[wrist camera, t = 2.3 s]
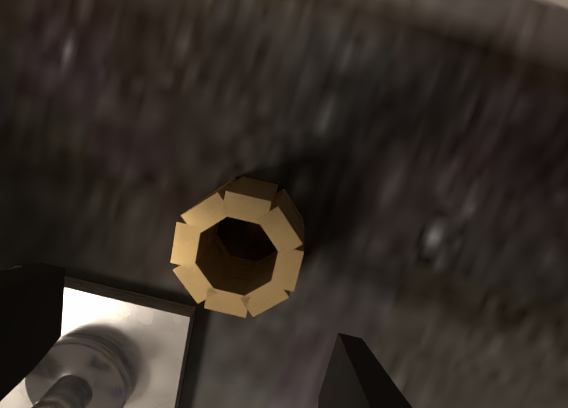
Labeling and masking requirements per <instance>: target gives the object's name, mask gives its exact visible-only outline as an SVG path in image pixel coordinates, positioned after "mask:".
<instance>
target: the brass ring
mask: <svg viewBox="0 0 568 408" xmlns="http://www.w3.org/2000/svg"><path fill="white" fill-rule="evenodd" d="M277 189H278V184H274V183H270V182H265V181H261V180H257V179H253V178H248V177H244V176H242V177H241V178H240V179H239V180H237V178H236V177H235V178H234V179H232V180H231V181H229V182H228V183H226V184H224V185H223V186H221V187H220V188H218V189H217V190H215V191H213V192H212V193H210V194H209V195H207V196H206V197H204V198H203V199H202V200H200V201H199V202H198V203H196V204H195V205H194V206H193V207H191V208H190V209H189V210H187V211H186V212H185V213H183V214H182V215H181V216H182V218H181V219H180V220H178V221H177V223H176V230H175V236H174V243H173V250H172V256H171V263H174V264H177V265H176V267H175V268H174V269H173V271H174V273H175V274H176V275H177V277H178V278H179V279H180V281H181V282H182V283H183V285H184V286H185V287H186V289H187V290H188V291H189V293H190V294H191V295H192V297H193V298H194V300H195V301H196V302H197V304H198V303H200V302H202V301H203V300H205V299H206V301H205V306H204V308H206V309H210V310H215V311H219V312H223V313H227V314H232V315H236V316H240V317H244V318H246V315H247V311H248V310H249V312H250V313H251V315H252V316H253V317H254V316H256V315H258V314H259V313H261V312H263V311H265V310H267V309H269V308H271V307H272V306H274V305H276V304H278V303H280V302H282V301H284V300H285V299H287V298H289V294H290V291H293V292H294V289H295V285H296V281H297V277H298V273H299V270H300V266H301V262H302V258H303V254H304V229H305V225H303V220H304V219H303V217H302V216H301V214H300V213H299V211H298V209H297V208H296V206H295V205H294V203H293V202H292V200H291V198H290V197H289V195H288V194H287V192H286V191H285V189H282V190H281V191H279V192H277ZM226 217H231V218H235V219H240V220H244V221H248V222H252V223H257V224H260V225H261V226H262V228H263V229H264V231H265V232H266V234H267V235H268V237H269V238H270V240H271V241H272V243H273V244H274V246H275V247H276V249H277V250H276V251H274V252H272V253H271V254H269V255H267V256H265V257H264V258H262V259H260V260H258V261H257V262H256V261H252V260H248V259H244V258H239V257H235V256H231V254H230V253H229V251H228V250H227V248H226V247H225V246H224V244H223V243H222V241H221V240H220V238H219V237H218V236H217V232H218V227H219V221H221V220H222V219H224V218H226Z"/></svg>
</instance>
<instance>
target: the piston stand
mask: <svg viewBox="0 0 568 408" xmlns="http://www.w3.org/2000/svg"><path fill="white" fill-rule="evenodd" d="M18 267H22V266H21V265H15V266H13V267H11V268H9V269H13V268H18ZM7 270H8V269H7ZM195 311H196V307H194V306H190V305H186V304H182V303H178V302H173V301H169V300H165V299H161V298H156V297H152V296H148V295H144V294H140V293H135V292H131V291H127V290H123V289H118V288H114V287H110V286H106V285H102V284H97V283H93V282H89V281H85V280H80V279H76V278H72V277H68V276H65V283H64V299H63V315H62V331H61V337H60V338H59V339H58V341H57V342H56V343H55V344H54V346H53V347H52V348H51V349H50V350H49V352H48V353H47V354H46V355H45V357H44V358H43V359H42V360H41V361H40V362H39V363H38V365H37V366H36V367H35V368H34V369H33V370H32V371H31V373H29V374H28V375H27V376H26V377H25V378H24V379H23V380H22V381H21V382H20V383H19V384H18V385H17V386H16V387H15V388H14V389H13V390H12V391H11V392H10V393H9V394H8V395H7V396H6V397H5V398H3V399H2V400H1V401H0V408H178V407H179V401H180V395H181V390H182V384H183V379H184V373H185V367H186V362H187V356H188V350H189V345H190V339H191V333H192V328H193V322H194V317H195Z"/></svg>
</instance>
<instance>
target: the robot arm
mask: <svg viewBox="0 0 568 408" xmlns="http://www.w3.org/2000/svg"><path fill="white" fill-rule="evenodd" d="M64 283H65V268H61V267H57V266H52V265H48V264H44V263H40V264H34V265H28V266H22V267H18V268H13V269H8V270H4V271H0V401H1V400H2V399H3V398H5V397H6V396H7V395H8V394H9V393H10V392H11V391H12V390H13V389H14V388H15V387H16V386H17V385H18V384H19V383H20V382H21V381H22V380H23V379H24V378H25V377H26V376H27V375H28V374H29V373H31V371H32V370H33V369H34V368H35V367H36V366H37V365H38V363H39V362H40V361H41V360H42V359H43V358H44V357H45V355H46V354H47V353H48V352H49V350H50V349H51V348H52V347H53V346H54V344H55V343H56V342H57V341H58V339H59V338H60V337H61V331H62V315H63V299H64ZM318 408H412V407H411V405H410V404H409V403H408V401H407V400H406V399H405V397H404V396H403V395H402V393H401V392H400V391H399V389H398V388H397V387H396V385H395V384H394V383H393V381H392V380H391V378H390V377H389V376H388V374H387V373H386V371H385V370H384V369H383V367H382V366H381V364H380V363H379V362H378V360H377V359H376V357H375V356H374V355H373V353H372V352H371V350H370V349H369V348H368V346H367V345H366V343H365V342H364V341H363V340H362V338H358V337H353V336H349V335H345V334H341V333H338V336H337V339H336V342H335V345H334V349H333V352H332V355H331V359H330V362H329V365H328V368H327V372H326V375H325V378H324V381H323V385H322V388H321V391H320V394H319V402H318Z"/></svg>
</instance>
